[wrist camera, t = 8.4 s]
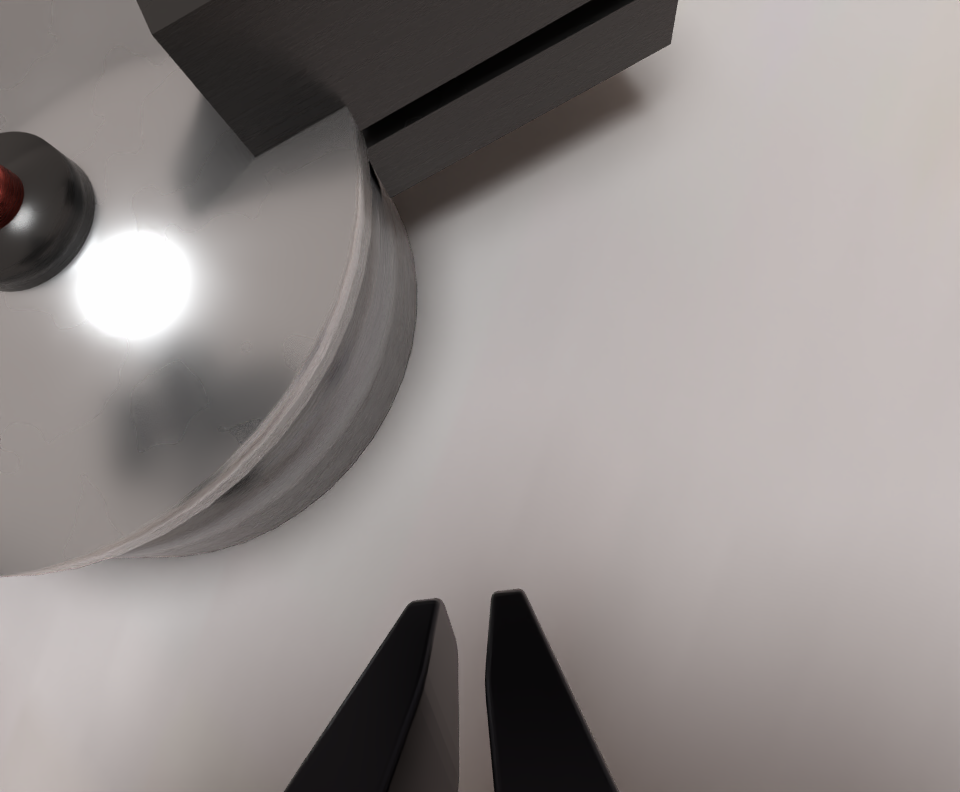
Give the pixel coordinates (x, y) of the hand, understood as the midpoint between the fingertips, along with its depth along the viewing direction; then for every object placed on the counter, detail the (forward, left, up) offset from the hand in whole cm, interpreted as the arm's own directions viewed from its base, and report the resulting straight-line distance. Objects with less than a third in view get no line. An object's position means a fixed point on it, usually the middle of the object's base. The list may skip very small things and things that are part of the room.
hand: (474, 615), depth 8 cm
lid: (+3, +11, -3) cm, 12 cm away
